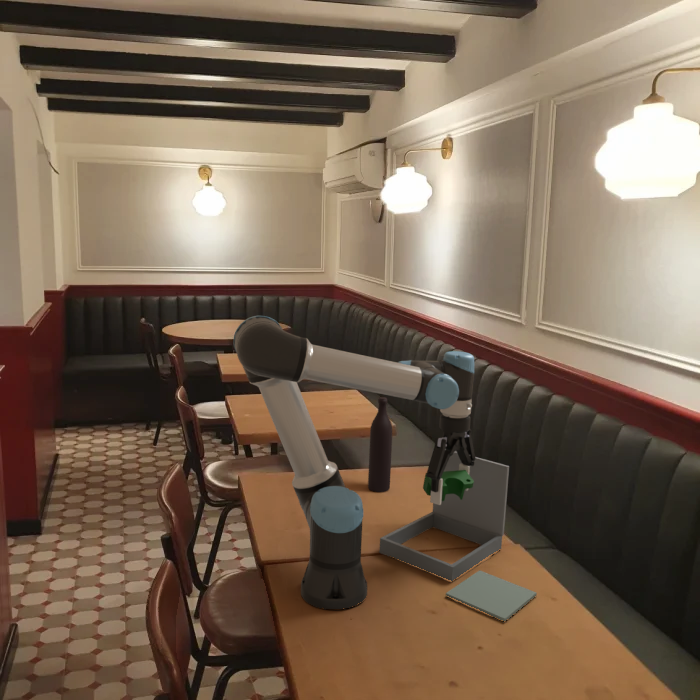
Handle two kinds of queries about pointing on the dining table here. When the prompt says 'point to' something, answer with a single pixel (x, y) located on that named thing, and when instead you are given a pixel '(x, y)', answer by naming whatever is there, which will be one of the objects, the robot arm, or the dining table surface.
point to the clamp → (451, 483)
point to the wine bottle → (380, 450)
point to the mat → (492, 595)
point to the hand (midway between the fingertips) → (449, 496)
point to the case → (459, 520)
